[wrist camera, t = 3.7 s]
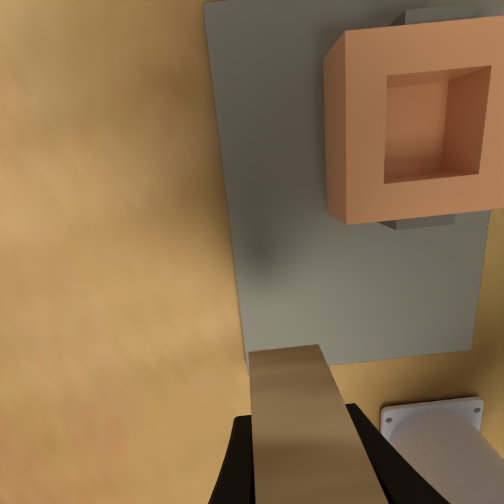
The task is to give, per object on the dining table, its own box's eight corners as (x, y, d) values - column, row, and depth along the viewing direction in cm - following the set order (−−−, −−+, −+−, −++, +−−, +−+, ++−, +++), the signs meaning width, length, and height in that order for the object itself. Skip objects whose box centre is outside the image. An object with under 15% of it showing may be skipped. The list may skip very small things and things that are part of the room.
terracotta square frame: (460, 209, 18) (508, 219, 15) (327, 223, 18) (346, 236, 15) (479, 29, 15) (543, -6, 12) (322, 44, 15) (345, 13, 12)
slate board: (461, 341, 22) (471, 350, 21) (247, 365, 22) (247, 374, 21) (505, -17, 16) (522, -29, 15) (204, 12, 16) (202, 2, 15)
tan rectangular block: (320, 401, 14) (464, 818, 5) (255, 408, 14) (283, 841, 5) (318, 344, 13) (488, 730, 4) (248, 351, 13) (268, 757, 4)
